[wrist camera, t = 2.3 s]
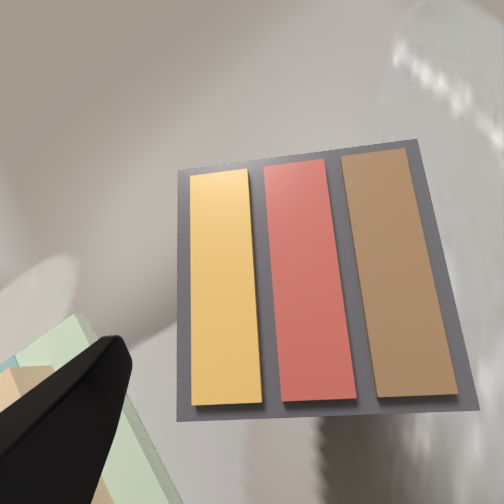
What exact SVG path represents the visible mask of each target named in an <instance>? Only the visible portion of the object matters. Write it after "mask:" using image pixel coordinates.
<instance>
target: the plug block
mask: <svg viewBox="0 0 504 504" xmlns="http://www.w3.org/2000/svg"><path fill="white" fill-rule="evenodd" d="M177 245H178V247H177V256H178V257H177V422H185V421H212V420H238V419H265V418H290V417H318V416H345V415H372V414H398V413H425V412H452V411H478V410H480V407H479V403H478V399H477V394H476V390H475V386H474V381H473V377H472V373H471V369H470V364H469V360H468V356H467V351H466V347H465V343H464V338H463V334H462V330H461V326H460V321H459V317H458V313H457V308H456V304H455V300H454V295H453V291H452V287H451V283H450V278H449V274H448V270H447V265H446V261H445V257H444V252H443V248H442V244H441V240H440V235H439V231H438V227H437V222H436V218H435V214H434V210H433V205H432V201H431V197H430V192H429V188H428V184H427V179H426V175H425V171H424V167H423V162H422V158H421V154H420V149H419V145H418V141H417V139H412V140H404V141H396V142H389V143H381V144H374V145H366V146H359V147H352V148H344V149H337V150H329V151H322V152H314V153H306V154H299V155H291V156H284V157H276V158H268V159H261V160H254V161H246V162H238V163H231V164H223V165H216V166H208V167H201V168H194V169H186V170H179V171H178V243H177Z"/></svg>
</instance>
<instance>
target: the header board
mask: <svg viewBox="0 0 504 504" xmlns="http://www.w3.org/2000/svg"><path fill="white" fill-rule="evenodd" d="M97 340H98V338H97V336H96V334H95V332H94V330H93V328H92V326H91V324H90V322H89V320H88V318H87V316H85V315H80V314H73V315H71V316H70V317H68V318H67V319H66V320H64V321H63V322H61V323H60V324H59V325H57V326H56V327H55V328H53V329H52V330H50V331H49V332H48V333H46V334H45V335H43V336H42V337H41V338H39V339H38V340H36V341H35V342H34V343H32V344H31V345H29V346H28V347H27V348H25V349H24V350H22V351H21V352H20V353H18V354H17V355H16V356H13V357H11V358H10V359H8V360H7V361H6V362H4V363H3V364H1V365H0V412H1V411H3V410H4V409H5V408H7V407H8V406H9V405H11V404H12V403H13V402H15V401H16V400H18V399H19V398H20V397H22V396H23V395H24V394H26V393H27V392H28V391H30V390H31V389H32V388H34V387H35V386H36V385H38V384H39V383H40V382H42V381H43V380H44V379H46V378H47V377H48V376H50V375H51V374H53V373H54V372H55V371H57V370H58V369H59V368H61V367H62V366H63V365H65V364H66V363H67V362H69V361H70V360H71V359H73V358H74V357H75V356H77V355H78V354H79V353H81V352H82V351H83V350H85V349H86V348H88V347H89V346H90V345H92V344H93V343H94V342H96V341H97ZM91 504H183V503H182V501H181V499H180V497H179V495H178V493H177V491H176V489H175V487H174V485H173V483H172V482H171V480H170V478H169V476H168V474H167V472H166V470H165V468H164V466H163V464H162V462H161V460H160V458H159V456H158V454H157V452H156V450H155V448H154V447H153V445H152V443H151V441H150V439H149V437H148V435H147V433H146V431H145V429H144V427H143V425H142V423H141V421H140V419H139V417H138V415H137V413H136V412H135V410H134V408H133V406H132V404H131V402H130V400H129V398H128V396H127V394H126V396H125V400H124V404H123V408H122V412H121V416H120V420H119V424H118V428H117V431H116V434H115V437H114V440H113V443H112V446H111V449H110V452H109V454H108V457H107V460H106V463H105V466H104V469H103V471H102V474H101V477H100V480H99V483H98V486H97V488H96V491H95V494H94V497H93V500H92V503H91Z"/></svg>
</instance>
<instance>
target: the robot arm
mask: <svg viewBox="0 0 504 504" xmlns="http://www.w3.org/2000/svg"><path fill="white" fill-rule="evenodd" d="M131 371H132V359H131V356H130V354H129V351H128V349H127V347H126V345H125V342H124V340H123V338H122V337H121V336H119V335H110V336H104V337H101V338H100V339H98V340H97V341H96V342H94V343H93V344H92V345H90V346H89V347H88V348H86V349H85V350H83V351H82V352H81V353H79V354H78V355H77V356H75V357H74V358H73V359H71V360H70V361H69V362H67V363H66V364H65V365H63V366H62V367H61V368H59V369H58V370H57V371H55V372H54V373H53V374H51V375H50V376H48V377H47V378H46V379H44V380H43V381H42V382H40V383H39V384H38V385H36V386H35V387H34V388H32V389H31V390H30V391H28V392H27V393H26V394H24V395H23V396H22V397H20V398H19V399H18V400H16V401H15V402H13V403H12V404H11V405H9V406H8V407H7V408H5V409H4V410H3V411H1V412H0V504H91V503H92V500H93V497H94V494H95V491H96V488H97V486H98V483H99V480H100V477H101V474H102V471H103V469H104V466H105V463H106V460H107V457H108V454H109V452H110V449H111V446H112V443H113V440H114V437H115V434H116V431H117V428H118V424H119V420H120V416H121V412H122V408H123V404H124V400H125V396H126V392H127V388H128V384H129V380H130V376H131Z"/></svg>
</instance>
